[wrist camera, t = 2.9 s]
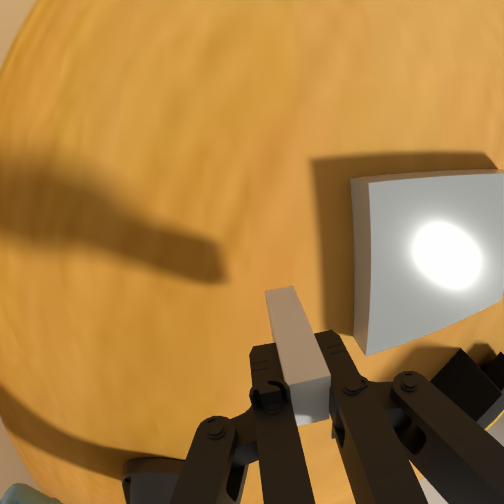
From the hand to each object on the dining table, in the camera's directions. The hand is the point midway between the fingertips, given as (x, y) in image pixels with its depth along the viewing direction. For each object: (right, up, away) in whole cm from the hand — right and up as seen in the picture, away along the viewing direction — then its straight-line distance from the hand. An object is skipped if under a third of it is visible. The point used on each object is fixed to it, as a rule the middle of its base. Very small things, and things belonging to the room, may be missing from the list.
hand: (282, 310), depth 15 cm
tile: (+13, +4, +4) cm, 14 cm away
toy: (+31, -19, +14) cm, 39 cm away
